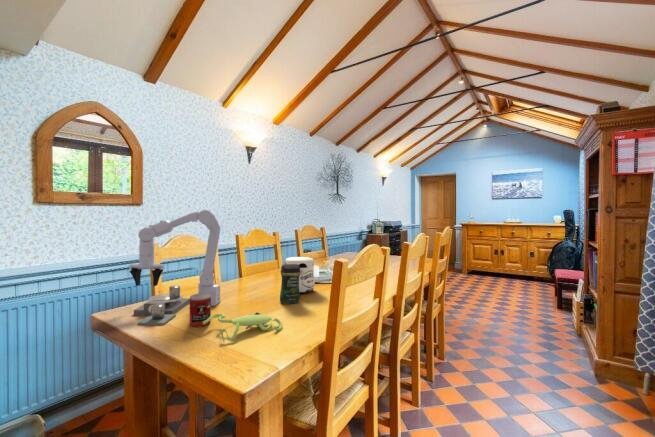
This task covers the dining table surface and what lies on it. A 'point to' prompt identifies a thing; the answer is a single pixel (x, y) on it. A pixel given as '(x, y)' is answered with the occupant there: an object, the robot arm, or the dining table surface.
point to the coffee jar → (290, 284)
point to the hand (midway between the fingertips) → (146, 285)
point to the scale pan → (162, 298)
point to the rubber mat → (163, 321)
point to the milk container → (304, 273)
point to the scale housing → (169, 307)
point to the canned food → (200, 309)
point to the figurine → (245, 322)
